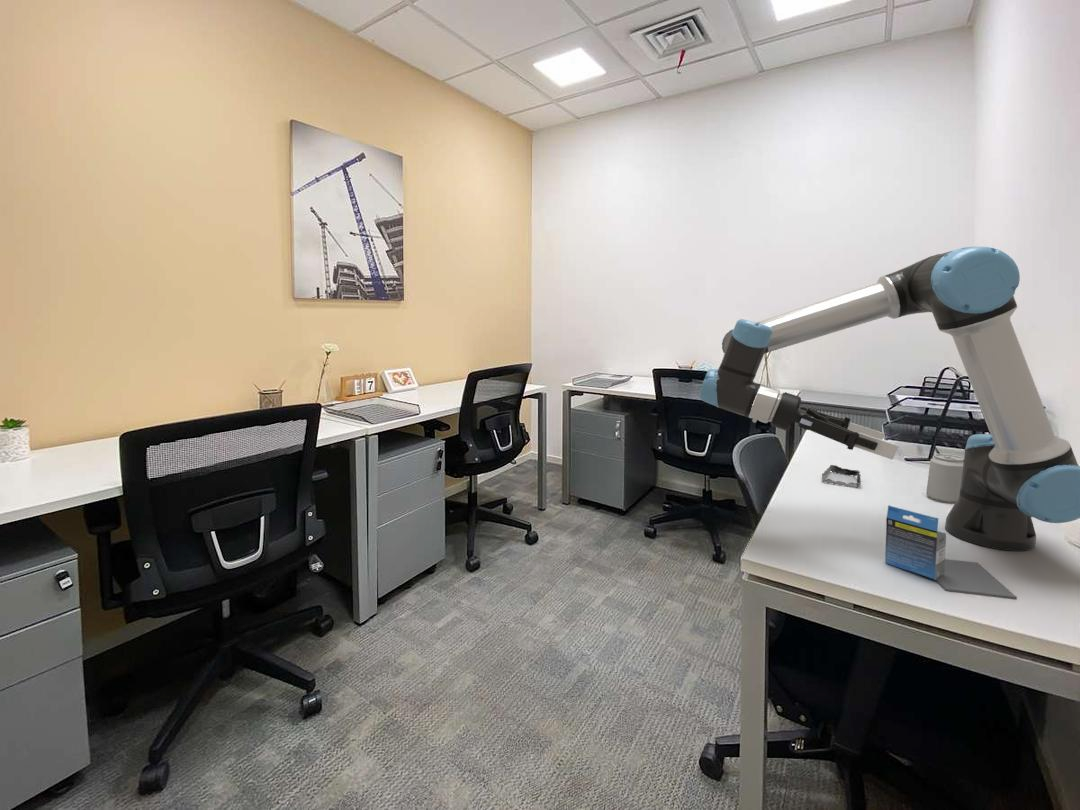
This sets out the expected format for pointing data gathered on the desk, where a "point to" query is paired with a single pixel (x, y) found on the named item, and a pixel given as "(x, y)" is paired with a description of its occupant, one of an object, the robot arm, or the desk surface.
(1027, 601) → the desk surface
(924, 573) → the label tape box
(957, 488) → the can
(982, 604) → the desk surface
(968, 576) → the felt mat
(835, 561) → the desk surface
